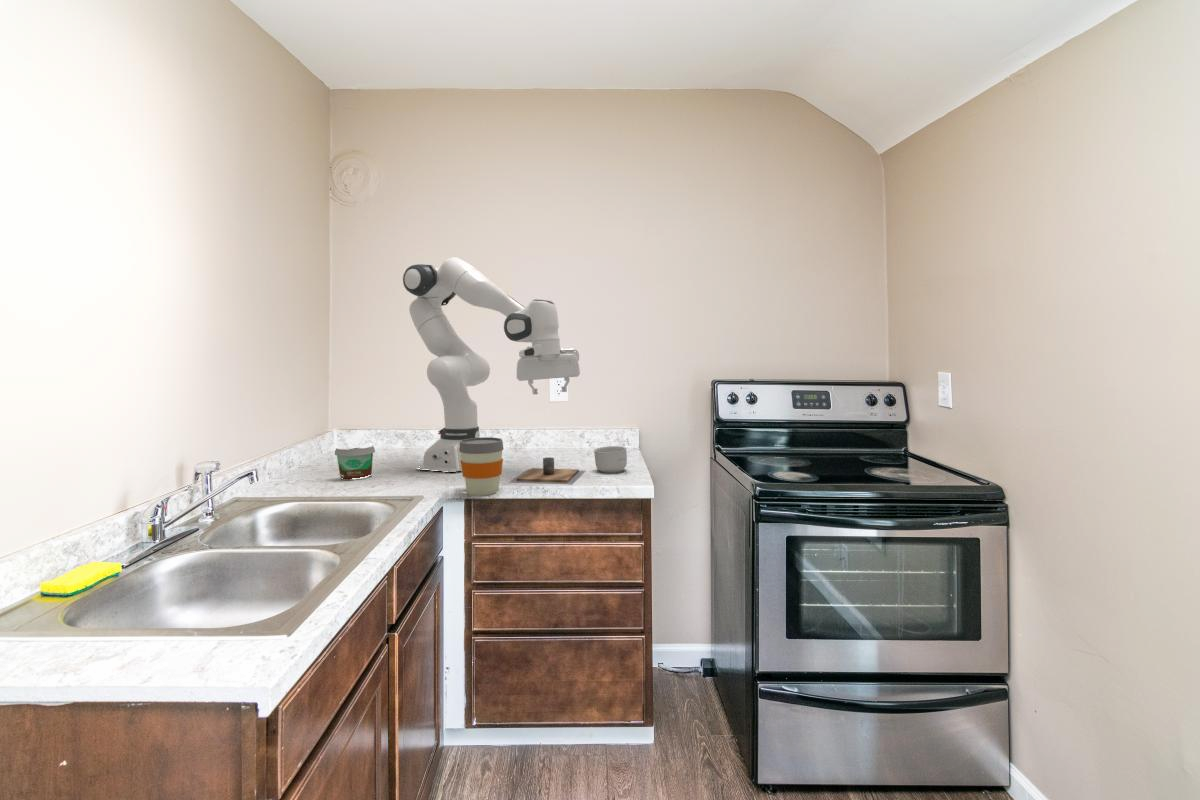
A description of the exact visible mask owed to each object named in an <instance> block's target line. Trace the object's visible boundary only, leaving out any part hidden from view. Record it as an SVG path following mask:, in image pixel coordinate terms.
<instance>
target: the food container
mask: <svg viewBox="0 0 1200 800" xmlns="http://www.w3.org/2000/svg"><path fill="white" fill-rule="evenodd" d="M375 452H376V449H375V447H374V445H371V446H368V447H364V448H362V447H361V448H360V447H358V448H357V447H355V448H349V449H343V448H342V449H340V448H337V447H336V448H335V450H334V455H335V456H336V459H337V465H338V469H339V470H338V471H339V477H340V479H341V478H343V479H352V478H360V477H365V476H368V475H371V474H373V460H374V459H373V458H374V453H375ZM371 476H372V475H371ZM343 479H342V480H343Z"/></svg>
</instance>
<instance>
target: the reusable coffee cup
mask: <svg viewBox="0 0 1200 800" xmlns="http://www.w3.org/2000/svg"><path fill="white" fill-rule="evenodd" d="M503 450H504V442H503V439H502V438H499V437H489V436H488V437H487V436H486V437H484V436H483V437H479V438H470V439H464V440H461V441H460V448H459V452H461V458H462V460H461V467H462V471H461V472H462V473H461V474H462V477H464V483H465V488H466V493H467V494H468V495H470V496H479V497H480V496H490V495H495V494H496V493H497V492H498V491H499V488H500V487H499V486H500V480H501V479H500V477H501V475H502V473H503V463H504V462H503V461H504V459H503Z"/></svg>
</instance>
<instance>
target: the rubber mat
mask: <svg viewBox="0 0 1200 800" xmlns="http://www.w3.org/2000/svg"><path fill="white" fill-rule="evenodd" d="M530 469H531V468H530ZM530 469H529V468H528V469H526V470H525V471H524V472H522V473H520V474H518V475H517V476H515V478H513V479H512V480H510V481H508V483H509V484H510V483H514V484H518V483H519V484H538V485H539V484H543V485H546V484H547V485H571V486H572V485H573V484H574V483H576V481H577V480H578V479H580V478H581V477H582V476H583V475H584V474H585V473H586V471H587V470H579V472H578V473H577V474H576V475H575V476H574V477H573V478H572V479H571V480H570V481H569V482H567V483H560V482H529V481H517V478H518V477H520V476H521V475H523V474H524V473H526V472H527V471H529V470H530Z"/></svg>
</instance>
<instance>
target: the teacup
mask: <svg viewBox="0 0 1200 800" xmlns="http://www.w3.org/2000/svg"><path fill="white" fill-rule="evenodd" d="M627 449H628V448H627V447H626V446H622V445H621V446H620V445H607V446H600V447H596V448H595V449H593V452H594V462H595V468H597V470H598V471H600V472H602V473H604V474H605V473H606V474H615V473H616V474H617V473H621V472H622V471H623V470H624V469H625V468H626V466H627V464H628V462H627V461H628V459H627V457H628V456H627V455H628V454H627V451H628V450H627Z"/></svg>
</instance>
